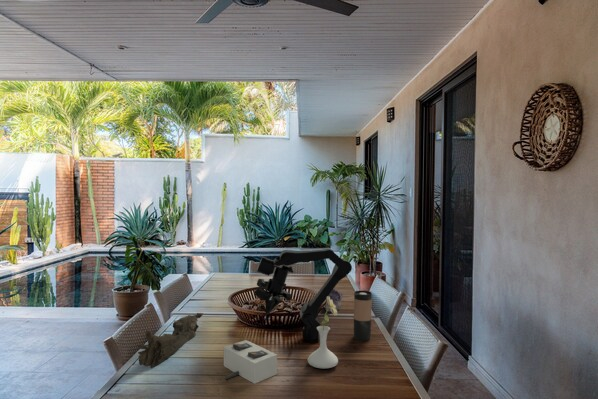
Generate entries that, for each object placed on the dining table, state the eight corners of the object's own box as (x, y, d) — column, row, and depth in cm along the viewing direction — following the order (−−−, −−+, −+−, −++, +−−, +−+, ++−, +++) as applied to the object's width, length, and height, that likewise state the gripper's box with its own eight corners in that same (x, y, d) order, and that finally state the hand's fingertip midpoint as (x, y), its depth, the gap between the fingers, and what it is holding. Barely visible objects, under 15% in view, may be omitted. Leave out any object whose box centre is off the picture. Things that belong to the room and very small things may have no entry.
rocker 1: (245, 347, 148) (246, 344, 148) (251, 349, 145) (251, 346, 146) (232, 346, 144) (233, 343, 144) (238, 349, 141) (239, 346, 142)
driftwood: (134, 374, 133) (136, 330, 135) (195, 340, 185) (195, 309, 187) (149, 375, 132) (150, 330, 134) (206, 340, 184) (206, 309, 186)
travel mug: (372, 336, 176) (373, 291, 175) (368, 342, 169) (369, 295, 168) (356, 333, 179) (357, 289, 178) (351, 339, 172) (352, 293, 172)
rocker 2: (260, 353, 142) (261, 350, 142) (267, 357, 139) (267, 353, 139) (247, 355, 137) (248, 351, 138) (254, 358, 135) (254, 355, 135)
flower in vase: (329, 374, 139) (330, 304, 138) (301, 366, 145) (302, 299, 144) (345, 361, 150) (346, 296, 149) (319, 354, 156) (320, 291, 155)
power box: (245, 357, 152) (245, 339, 151) (276, 374, 139) (277, 354, 139) (211, 370, 141) (211, 350, 141) (242, 389, 128) (242, 367, 128)
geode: (345, 313, 208) (342, 295, 207) (323, 315, 208) (320, 297, 208) (343, 301, 228) (341, 284, 227) (323, 303, 229) (321, 286, 228)
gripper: (279, 273, 181) (268, 305, 181) (251, 270, 166) (239, 305, 166) (297, 282, 174) (285, 316, 174) (269, 280, 159) (257, 317, 159)
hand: (266, 313), depth 168 cm, fingers closed
